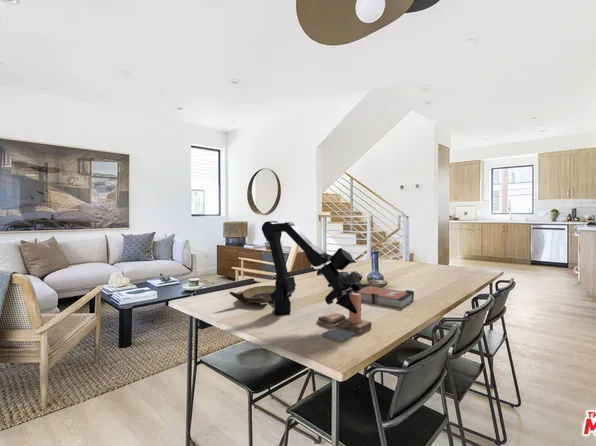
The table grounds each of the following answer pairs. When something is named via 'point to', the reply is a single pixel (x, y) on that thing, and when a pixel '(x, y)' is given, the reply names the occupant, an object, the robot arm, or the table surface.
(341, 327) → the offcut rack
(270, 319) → the table surface
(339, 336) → the grey mat
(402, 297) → the book
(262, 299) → the oil lamp
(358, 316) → the pink bar
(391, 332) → the table surface
